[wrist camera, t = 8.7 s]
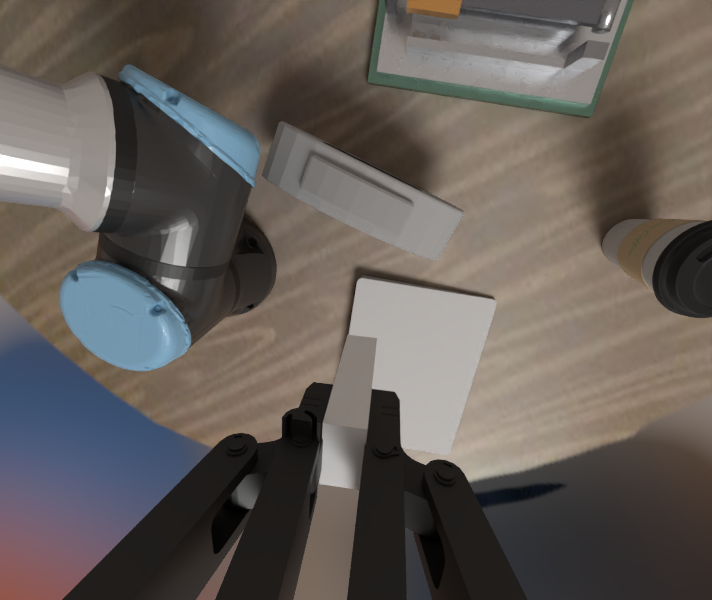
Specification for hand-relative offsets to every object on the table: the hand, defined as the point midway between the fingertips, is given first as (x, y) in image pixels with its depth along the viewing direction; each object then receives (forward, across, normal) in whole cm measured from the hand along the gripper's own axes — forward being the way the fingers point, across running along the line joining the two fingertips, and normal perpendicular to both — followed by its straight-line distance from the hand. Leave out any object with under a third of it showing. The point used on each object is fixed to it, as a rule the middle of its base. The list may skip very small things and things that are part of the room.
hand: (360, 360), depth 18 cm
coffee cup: (+33, +31, +2) cm, 45 cm away
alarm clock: (+34, -3, +6) cm, 34 cm away
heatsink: (+33, +10, +25) cm, 43 cm away
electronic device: (+34, +6, -21) cm, 40 cm away
